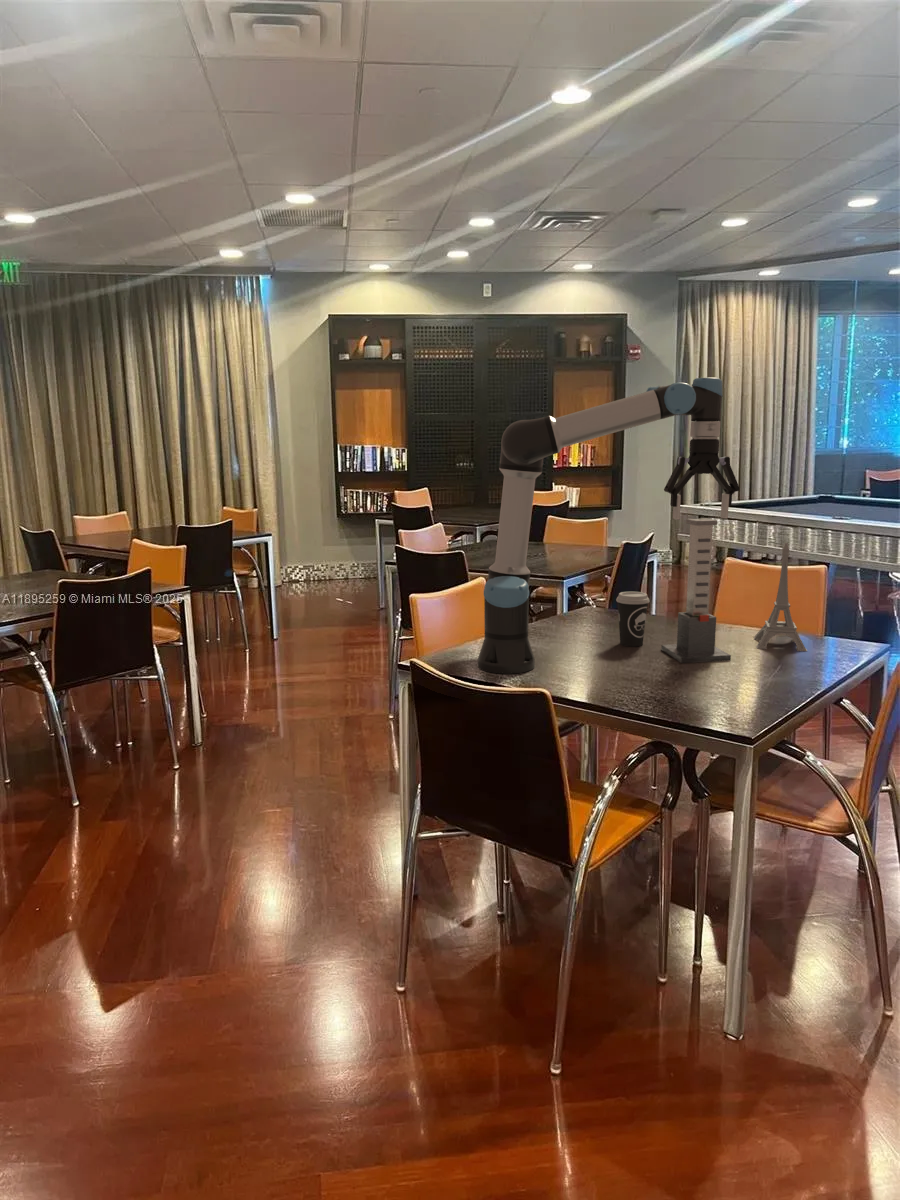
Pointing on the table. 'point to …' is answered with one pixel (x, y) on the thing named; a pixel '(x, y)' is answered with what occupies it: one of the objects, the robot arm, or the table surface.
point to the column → (699, 566)
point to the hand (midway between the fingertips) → (700, 518)
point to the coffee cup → (632, 617)
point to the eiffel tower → (781, 603)
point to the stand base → (696, 640)
